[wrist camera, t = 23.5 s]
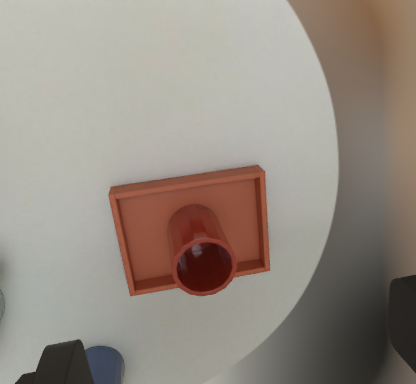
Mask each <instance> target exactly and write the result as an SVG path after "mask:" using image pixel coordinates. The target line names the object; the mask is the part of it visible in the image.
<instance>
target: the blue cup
mask: <svg viewBox="0 0 416 384" xmlns="http://www.w3.org/2000/svg"><path fill="white" fill-rule="evenodd" d="M85 353H86V356H87V360H88V363H89V367H90V370H91V374H92V377H93V381H94V384H123V376H124V361H123V358H122V356H121V355H120V354H119V353H118V352H117V351H116V350H114V349H112V348H109V347H104V346H98V347H92V348H89V349H87V350H85Z"/></svg>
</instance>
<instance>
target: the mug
mask: <svg viewBox="0 0 416 384" xmlns="http://www.w3.org/2000/svg"><path fill="white" fill-rule="evenodd" d="M4 308H5V302H4V297H3V294H2V292H1V290H0V319H1V317H2V315H3V312H4Z"/></svg>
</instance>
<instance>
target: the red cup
mask: <svg viewBox="0 0 416 384" xmlns="http://www.w3.org/2000/svg"><path fill="white" fill-rule="evenodd" d="M167 236H168V244H169V253H170V261H171V269H172V275H173V280H174V281H175V282H176V284H177V285H178V287H179V288H180V289H182V290H183V291H185V292H187V293H188V294H191V295H197V296H206V295H212V294H215V293H217V292H219V291H221V290H222V289H224V288H226V286H227V285H228V284H229V283H230V282H231V281H232V280H233V278H234V275H235V272H236V270H237V259H236V255H235V253H234V251H233V248H232V246H231V244H230V242H229V240H228V238H227V236H226V234H225V231H224V229H223V227H222V225H221V223H220V221H219V219H218V217H217V216H216V214H215V213H214V212H213V211H212V210H211V209H210V208H208V207H206V206H203V205H198V204H192V205H187V206H184V207H182V208H180V209H178V210H177V211H176V212H175V213H174V214H173V215H172V216H171V218H170V220H169V222H168V226H167Z"/></svg>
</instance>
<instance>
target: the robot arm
mask: <svg viewBox="0 0 416 384" xmlns="http://www.w3.org/2000/svg"><path fill="white" fill-rule="evenodd" d="M387 332H388V336H389V339H390V341H391V343H392V345H393V347H394V348H395V350H396V351H397V352H398V354H399V355H400V356H401V357H402V358H403V359H404V360H405V362H407V364H408V365H409V366H410V367H411V368H412V370H413V371H414V372H415V373H416V275H412V276H407V277H401V278H396V279H393V280H392V282H391V284H390V292H389V303H388V315H387ZM15 384H94V381H93V377H92V374H91V370H90V367H89V363H88V360H87V356H86V353H85V349H84V346H83V343H82V342H81V340H73V341H68V342H63V343H58V344H53V345H48V346H46V347H45V349H44V351H43V353H42V356H41V358H40V361H39V364H38V367H37V369H36V372H32V373H27V374H23V375H22V376H21V377H20V378H19V379H18V381H17V382H16V383H15Z"/></svg>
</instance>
